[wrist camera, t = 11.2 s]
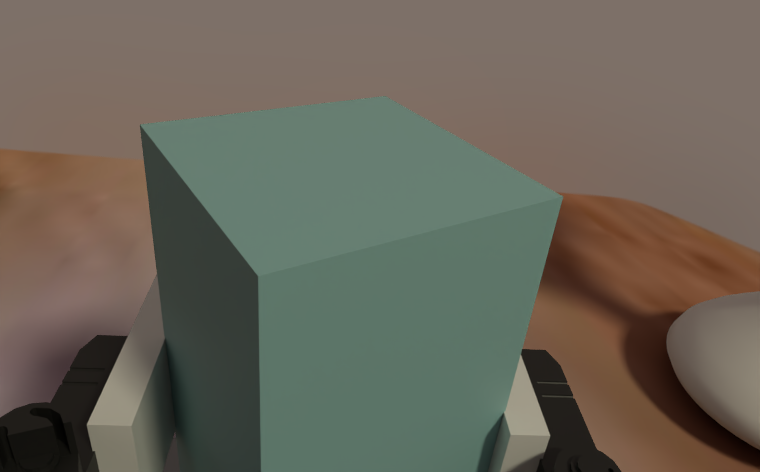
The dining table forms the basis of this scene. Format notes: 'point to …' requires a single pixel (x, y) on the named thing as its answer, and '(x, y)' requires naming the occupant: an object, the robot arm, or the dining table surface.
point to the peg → (340, 287)
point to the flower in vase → (721, 360)
